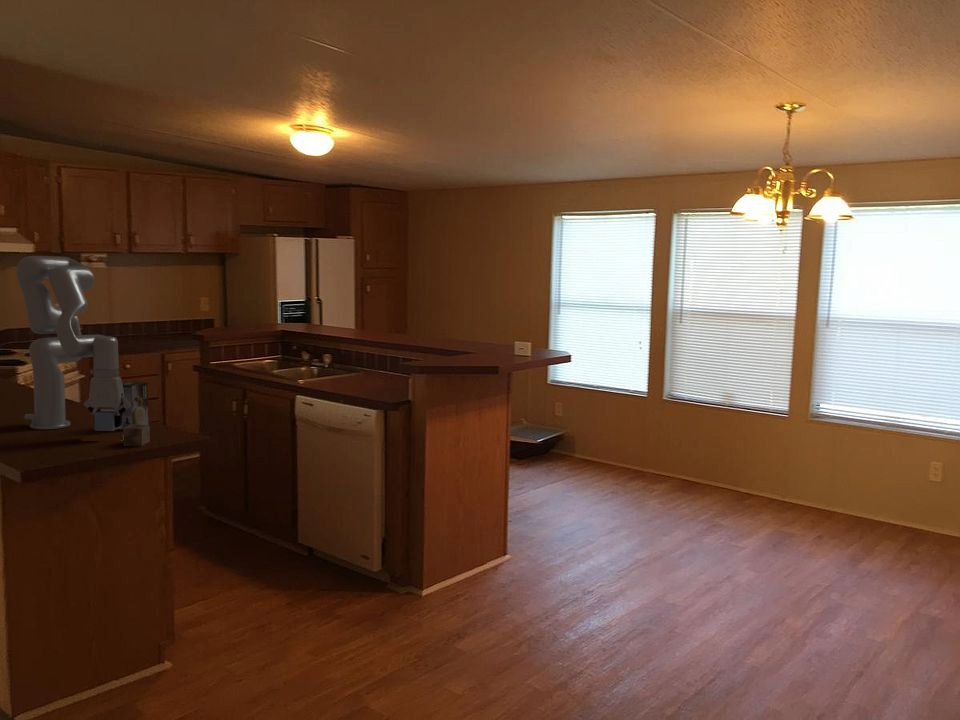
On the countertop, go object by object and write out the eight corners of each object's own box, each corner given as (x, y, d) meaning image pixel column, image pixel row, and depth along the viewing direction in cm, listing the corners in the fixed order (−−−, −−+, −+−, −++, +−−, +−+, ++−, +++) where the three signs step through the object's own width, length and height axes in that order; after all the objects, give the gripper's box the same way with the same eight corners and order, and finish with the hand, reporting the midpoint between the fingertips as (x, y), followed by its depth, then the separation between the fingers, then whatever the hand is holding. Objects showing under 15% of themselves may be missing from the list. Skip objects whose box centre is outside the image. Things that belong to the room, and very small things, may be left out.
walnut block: (123, 446, 248) (123, 428, 248) (131, 442, 254) (131, 424, 254) (142, 447, 248) (141, 428, 248) (149, 442, 254) (149, 425, 254)
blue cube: (94, 430, 255) (94, 412, 254) (103, 426, 261) (103, 409, 260) (112, 430, 255) (112, 413, 254) (121, 427, 261) (120, 409, 260)
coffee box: (133, 424, 280) (132, 381, 278) (149, 425, 279) (148, 382, 277) (116, 429, 271) (115, 384, 269) (132, 430, 270) (132, 385, 268)
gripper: (74, 374, 252) (76, 428, 254) (127, 375, 252) (128, 429, 254) (86, 371, 259) (88, 423, 261) (137, 372, 259) (138, 424, 261)
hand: (108, 426), depth 257 cm, fingers closed on blue cube, 6 cm apart
